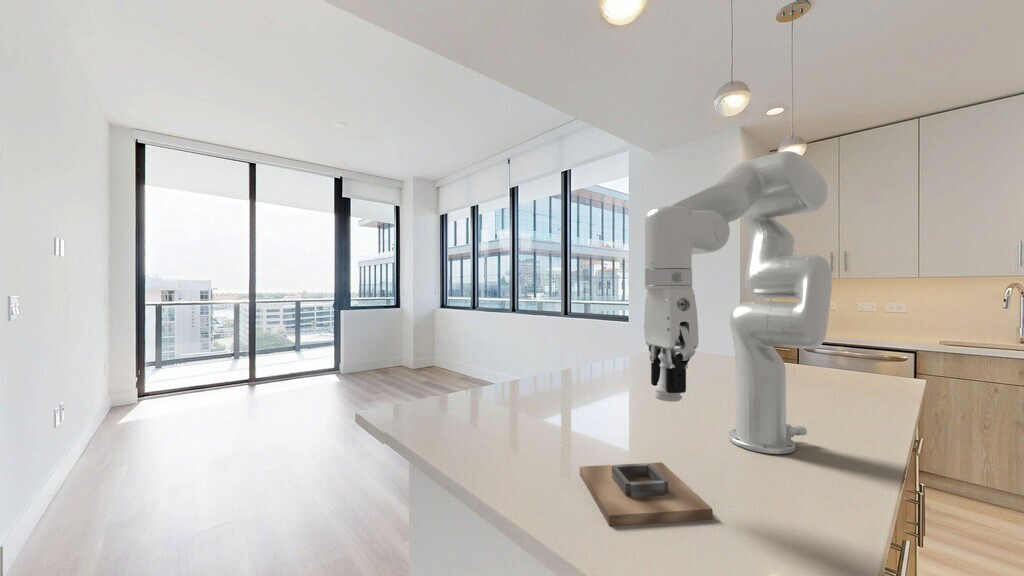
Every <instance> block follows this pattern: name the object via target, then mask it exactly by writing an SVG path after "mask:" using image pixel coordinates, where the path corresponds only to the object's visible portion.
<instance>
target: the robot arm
mask: <svg viewBox="0 0 1024 576" xmlns="http://www.w3.org/2000/svg"><path fill="white" fill-rule="evenodd" d="M827 198H828V185H827V182H826V180H825V178H824V176H823V175H822V174H821V172H820V171H818V169H816V168H815V167H814V165H812V164H811V162H810V161H809V160H808V159H807V158H806V157H804V156H803V155H801V154H799V153H797V152H795V151H791V150H790V151H789V150H787V151H780V152H776V153H772V154H768V155H764V156H760V157H757V158H752V159H749V160H744V161H741V162H739V163H738V164H735V165H734V166H732V168H730V169H729V170H728V171H727V172H725V173H724V174H723V175H721V177H720V178H718V180H717V181H716V180H715V182H714V183H713V184H711V185H710V186H708V187H706V188H703V189H702V190H699V191H697V192H695V193H694V194H692V195H689V196H688V197H685V198H683V199H680V200H679V201H677V202H675V203H673V204H671V205H667V206H660V207H656V208H653V209H651V210H649V211H648V212H647V213H646V215H645V218H644V289H645V290H646V296H645V305H644V323H643V324H644V331H643V332H644V334H643V335H644V340H645V344H646V346H647V347H648V351H649V361H650V366H651V367H650V385H652V386H654V387H656V386H657V385H658V384H657V383H658V382H659V378H660V370H661V367H660V366H659V365H660V364H661V360H660V359H659V357H658V356H659V354H660V351H662V350H665V352H667V358H668V366H669V368H666V392H668V393H681V394H685V393H686V392H687V369H688V368H689V362H690V360H691V358H692V357H693V356H695V354H696V349H697V348H698V347H699V324H698V323H699V322H698V321H699V320H698V310H697V309H698V308H697V302H696V296H695V292H694V289H693V255H702V254H710V253H714V252H717V251H719V250H721V249H722V248H724V247H725V245H726V244H727V243H728V241H729V238H730V234H731V230H730V225H729V223H731V222H734V221H737V220H738V219H740V218H742V221H743V222H744V225H745V227H746V230H747V232H748V234H749V239H750V247H749V253H748V257H747V258H748V259H747V265H746V271H745V279H744V286H745V290H746V293H747V294H748V295H750V296H752V297H755V298H758V299H759V298H760V299H776V300H777V299H778V300H779V299H781V300H783V299H785V300H787V299H788V300H791V299H792V300H799V301H798V302H797V301H793V302H792V301H763V300H761V301H759V300H757V301H745V302H741V303H739V304H738V305H736V306H734V307H733V309H732V311H731V313H730V315H729V323H730V324H729V326H730V331H731V335H732V340H733V347H734V359H735V361H734V362H735V372H734V373H735V428H734V429H732V430H730V431H729V432H728V434H727V435H728V439H729V441H731V443H733V444H734V445H736V446H738V447H739V448H743V449H746V450H749V451H753V452H758V453H761V454H762V453H764V454H768V455H787V454H791V453H793V452H795V450H796V442H794V441H793V440H792V438H793V437H794V436H799V437H800V436H806V435H807V433H808V430H807V428H806V427H805V426H802V425H800V426H798V425H797V426H792V425H791V424H790V423H787V370H786V365H785V361H784V360H783V358H782V357H781V355H780V354H779V352H778V351H777V350H776V349H775V347H783V348H784V347H786V348H792V349H793V348H794V349H809V350H811V349H817V348H818V347H821V345H822V344H823V343H824V341H825V339H826V336H827V332H828V331H827V330H828V322H829V314H830V307H831V306H830V305H831V297H832V289H833V274H832V273H833V272H832V269H831V265H830V263H829V262H828V260H827V259H826V258H824V257H823V256H820V255H817V254H796V255H794V246H795V237H794V236H793V234H792V233H791V232H790V231H789V229H788V228H786V227H785V226H784V225H783V224H782V223H780V222H779V221H778V220H777V219H776V218H777V217H784V216H792V215H798V214H805V213H812V212H815V211H817V210H819V209H821V208H822V207H823V206H824V205H825V203H826V201H827ZM775 217H776V218H775ZM676 347H678V348H676ZM674 353H676V356H675V358H674Z"/></svg>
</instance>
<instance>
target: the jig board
mask: <svg viewBox="0 0 1024 576" xmlns="http://www.w3.org/2000/svg"><path fill="white" fill-rule="evenodd" d="M579 476H580V478H581V480H582V481H583V483H584V484H585V486H586V489H587V490H588V492H589V493H590V495H591V496H592V499H593V500H594V502H595V503H596V505H597V507H598V509H599V510H600V512H601V514H602V515H603V518H604V519H605V521H606V523H607V525H608V526H609V527H610V526H611V527H612V526H625V525H626V526H627V525H641V524H655V523H670V522H682V521H683V522H684V521H685V522H686V521H699V520H700V521H701V520H713V518H714V517H713V516H714V515H713V508H712V506H710V505H709V504H708V503H707V502H706V501H705V500H704V499H702V497H700V496H699V495H698V494H697V493H696V492H695V491H694V490H693V489H691V487H689V486H688V485H687V484H686V483H685V482H684V481H683V480H681V479H680V477H679V476H677V475H676V474H675V473H674V472H673V471H672V470H671V469H670V468H668V467H667V465H665V464H664V463H663V462H661V461H660V462H644V463H641V462H640V463H623V464H620V463H619V464H605V465H602V464H601V465H586V466H585V465H584V466H579Z"/></svg>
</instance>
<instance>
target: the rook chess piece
mask: <svg viewBox="0 0 1024 576" xmlns="http://www.w3.org/2000/svg"><path fill="white" fill-rule="evenodd" d="M661 350H662V349H661ZM676 355H677V353H674V358H675V356H676ZM658 357H659V359H660V360H661V364H660V365H659V366H660V367H661V370H660V378H659V382H658V383H657V384H658V385H657V386H654V390H655V393H653V395H654V397H655V398H656V399H657V400H659V401H663V402H671V403H672V402H673V403H674V402H680V401H681V400H682V398H683V396H682V395H681V394H682V393H668V392H666V368H669V366H668V358H667V352H665V350H662V351H660V354H659V356H658Z"/></svg>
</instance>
